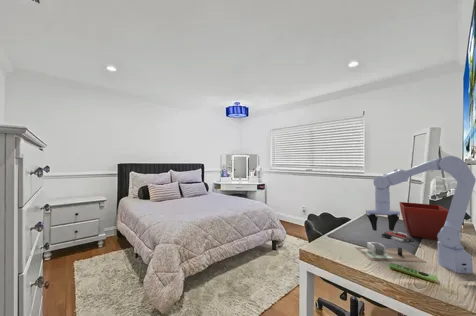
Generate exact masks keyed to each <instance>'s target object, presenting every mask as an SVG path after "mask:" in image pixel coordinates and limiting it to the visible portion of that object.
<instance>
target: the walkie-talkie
mask: <svg viewBox="0 0 476 316" xmlns="http://www.w3.org/2000/svg"><path fill="white" fill-rule="evenodd" d="M381 236H382V237H384V238H386V239H389V240H394V241H398V242H400V243H403V244H408V245H411V246H413V247H417V248H422V246H421V245H417V244H415V243H414V244H413V243H412V242H414V238H413V236H410V235H409V234H407V233H406V232H405V233H404V232H403V231H402V232H401V231H397V232H396V231H395V230H394V231H391V230H388V231H387V230H386V231H384V232H383V233H381ZM410 242H411V243H410Z"/></svg>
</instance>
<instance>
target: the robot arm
mask: <svg viewBox="0 0 476 316" xmlns="http://www.w3.org/2000/svg"><path fill="white" fill-rule="evenodd" d="M428 171H443V172H446V173H447V174H449V175H450V176H452V178H453V179H454V180H455V181H456V182H457V183H456V186H455V190H454V192H453V196H452V199H451V203H450V206H449V209H448V210H449V212H448V215H447V219H446V222H445V225H444V227H442V228H441V230H440V232H439V233H438V236H437V237H438V240H437V263H438V265H439V266H442V267H444V268H446V269H448V270H449V271H450V270H451V271H452V272H454V273H459V274H460V273H461V274H473V273H474V272H473V271H474V269H473V267H474V266H473V257H472V255H471V253H469V252H467V251H466V250H465V249H464V245H463V244H462V243H461V241H462V240H461V239H462V237H463V235H462V232H461V231H462V230H461V229H462V226H463V222H464V219H465V216H466V213H467V209H468V208H469V207H468V206H469V204H470V200H471V196H472V195H473V191H474V188H475V185H476V176H475V175H474V173H473V172H472V170H471V169H470V167H469V165H468V164H467V163H466V162H465V161H464V160H463V159H461V158H459V157H458V156H455V155H446V156H443V157H441V158H436V159H432V160H429V161H425V162H422V163H420V164H418V165H415V166H413V167H411V168H408V169H402V168H400V169H398V168H395V169H393V171H391V172H388V173H383V174H382V176H381V175H379V176H377V177H375V179H374V180H373V181H372V182H373V185H374V187H375V189H374V190H375V191H374V195H375V196H374V198H375V200H374V203H375V205H374V206H375V208H374V209H366V210H365V215H366V216H367V218H368V220H369V222H370V226H371V228H372V231H375V232H376V231H377V229H378V225H377V224H378V219H379V217H378V216H387V220H388V231H395V227H396V225H397V222H399V220H400V216H401V210H393V209H392V210H391V205H390V204H391V200H390V199H391V198H390V197H391V196H390V193H391V192H390V187H392V186H396V185H399V184H402V183H404V182H408V180H409V178H410V177H412V176H416V175H419V174H423V173H425V172H428Z"/></svg>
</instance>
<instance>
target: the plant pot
mask: <svg viewBox="0 0 476 316" xmlns="http://www.w3.org/2000/svg"><path fill="white" fill-rule="evenodd" d="M399 208H400V215H401V217H402V221H403V224H404V227H405V229H406V231H407V233H408V236H409V237H415V238H421V239H422V238H423V239H428V240H429V239H430V240H436V241H439V240H438V237H437V236H438V233H439V232H440V230H441V228H442V227H444V225H445V222H446V219H447V215H448V212H449V209H447V208H445V207H443V206H441V205H439V204H430V203H429V204H428V203H416V202H405V201H399Z"/></svg>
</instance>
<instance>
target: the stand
mask: <svg viewBox="0 0 476 316" xmlns="http://www.w3.org/2000/svg"><path fill="white" fill-rule="evenodd" d="M354 249H356V250H357V251H358V252H360V253H361V254H362V255H363V256H364V257H366V258H367V259H368V260H369V261H371V262H394V263H422V264H423V263H424V264H425V263H428V261H425V260H423V259H422V258H420V257H419V256H417V255H414V253H411V252H410V251H407V250H406V249H404V248H402V247H400V246H398V247H397V248H394V247H393V248H392V247H391V248H390V247H389V248H388V247H386V256H383V255H381V254H380V253H379V252H376V256H373V255H372V254H371V253H369V252H368V251H367V247H354Z"/></svg>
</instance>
